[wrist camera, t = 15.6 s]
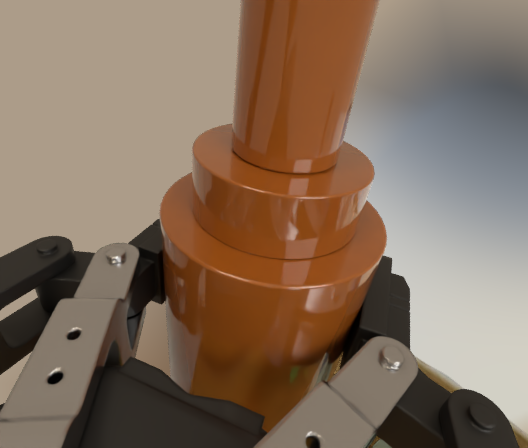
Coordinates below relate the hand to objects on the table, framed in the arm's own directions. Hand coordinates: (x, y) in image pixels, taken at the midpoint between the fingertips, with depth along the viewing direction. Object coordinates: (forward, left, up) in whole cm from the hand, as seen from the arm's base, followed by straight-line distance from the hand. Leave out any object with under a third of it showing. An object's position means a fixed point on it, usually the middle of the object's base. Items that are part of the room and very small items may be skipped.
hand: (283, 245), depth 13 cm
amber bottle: (+2, -2, -11) cm, 11 cm away
